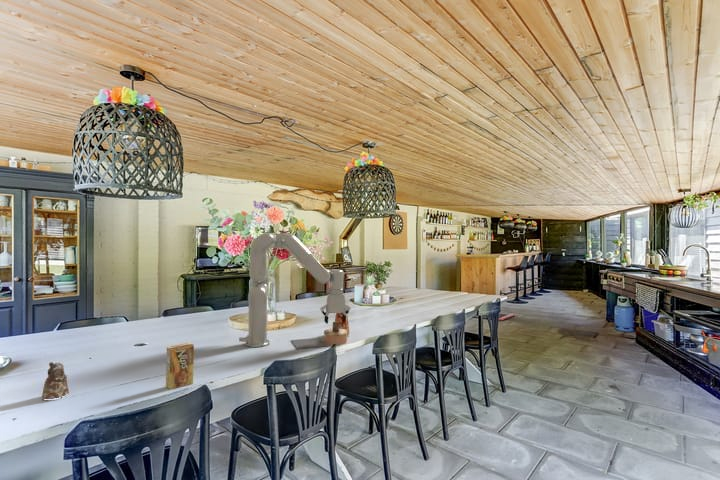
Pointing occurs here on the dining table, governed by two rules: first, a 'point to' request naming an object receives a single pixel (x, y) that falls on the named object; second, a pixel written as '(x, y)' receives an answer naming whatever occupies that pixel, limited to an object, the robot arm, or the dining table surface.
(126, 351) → the dining table surface
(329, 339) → the bowl
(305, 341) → the mat
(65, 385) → the figurine
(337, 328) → the lid
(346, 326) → the milk carton
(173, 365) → the candy box
